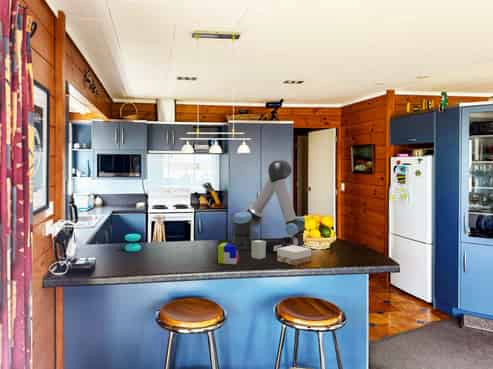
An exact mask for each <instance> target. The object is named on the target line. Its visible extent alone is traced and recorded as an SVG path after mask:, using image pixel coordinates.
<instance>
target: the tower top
mask: <svg viewBox="0 0 493 369" xmlns="http://www.w3.org/2000/svg"><path fill="white" fill-rule="evenodd" d="M276 252H277V254H276V256H277V255H279V256H283V257H287V258H291V259H300V258H304V257H308V256H311V257H312V248H308V247H304V246H296V245H292V246H286V247H281V248H277V251H276Z"/></svg>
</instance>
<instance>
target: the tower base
mask: <svg viewBox="0 0 493 369" xmlns="http://www.w3.org/2000/svg"><path fill="white" fill-rule="evenodd" d="M276 261H277V262H280V263H283V262H284V263H283V264H287V263H288V265H291V264H292V266H294V265H296V266H299V265H298V264H300V265H302V264H301V263H304V264H306V263H305V262H308V263H311V262H312V255H311V256H308V257H304V258H300V259H291V258H287V257H283V256H279V255H277V254H276ZM310 261H311V262H310Z"/></svg>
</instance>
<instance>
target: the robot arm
mask: <svg viewBox="0 0 493 369" xmlns="http://www.w3.org/2000/svg"><path fill="white" fill-rule="evenodd" d="M267 171H268V179H267V181H266V182H265V184H264V186H263V188H262V189H261V191H260V192H259V194H258V197H256V200H255V201H254V203H253V204H252V206H249V207H248V208H247V211H241V212H240V211H239V212H236V213H234V216H233V238H232V242H231V243H239V251H249V250H250V251H251V250H252V241H253V237H252V230H254V229H255V230H256V229H257V228H259V226H261V224H262V222H263V221H262V220H263V218H264V212H265V210H266V208H267V207H268V205H269V204H270V202H271V200H272V199H273V197H274V195H275V194H276V198H277V200H278V204H279V206H280V210H281V214H282V216H283V220H284V223H285V228H284V230H285V232H286V234H287V235H289V236H285V237H283V238H282V239H279V240H278V239H275V240H274V239H273V240H265V241H266V246H273V251H274V252H277V248H281V247H286V246H292V245H296V246H300V247H304V245H303V244H304V241H303V233H304V231H305V229H306V218H305V217H304V216H297V215H296V213H295V210H294V207H293V203H292V201H291V196H290V194H289V193H290V192H289V190H288V187H287V185H286V179H288V178H289V177H290V176H291V174H292V172H293V167H292V165H291V162H288V161H287V160H283V159H281V160H273V161H272V162H270V164H269V165H268V167H267ZM298 234H299V235H298ZM301 234H302V235H301Z"/></svg>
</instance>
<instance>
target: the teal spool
mask: <svg viewBox="0 0 493 369" xmlns="http://www.w3.org/2000/svg"><path fill="white" fill-rule="evenodd" d="M141 237H142V236H141V234H138V233H128V234H126V235H125V236H124V240H125V241H128V242H137V241H139V240H141ZM124 249H125V251H127V252H139V251H140V250H141V249H142V246H141V245H140V244H138V243H130V244H126V246H124Z"/></svg>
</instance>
